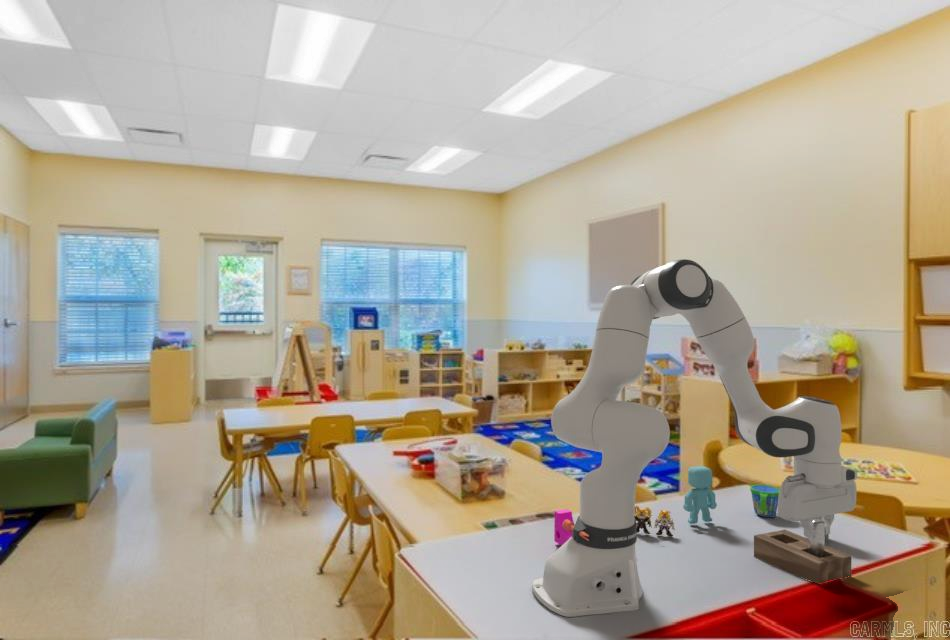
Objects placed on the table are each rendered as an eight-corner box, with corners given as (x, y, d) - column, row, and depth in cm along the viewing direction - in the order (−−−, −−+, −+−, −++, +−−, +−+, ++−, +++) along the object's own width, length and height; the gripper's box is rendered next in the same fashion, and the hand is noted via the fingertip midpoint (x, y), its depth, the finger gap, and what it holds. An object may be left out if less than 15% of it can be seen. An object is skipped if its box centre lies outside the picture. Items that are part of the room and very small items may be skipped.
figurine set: (609, 526, 149) (609, 501, 149) (674, 532, 145) (674, 507, 145) (609, 530, 146) (609, 505, 146) (675, 537, 141) (675, 511, 141)
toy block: (612, 560, 128) (612, 528, 128) (589, 565, 125) (589, 532, 125) (575, 537, 141) (575, 507, 141) (554, 540, 139) (554, 511, 139)
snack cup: (776, 523, 151) (776, 496, 151) (745, 516, 156) (745, 490, 156) (784, 511, 160) (784, 486, 160) (755, 506, 165) (755, 481, 165)
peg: (818, 566, 119) (818, 524, 118) (805, 560, 121) (805, 519, 121) (827, 564, 120) (828, 522, 120) (814, 558, 122) (814, 517, 122)
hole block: (818, 587, 115) (818, 563, 115) (753, 556, 129) (753, 535, 129) (851, 579, 118) (851, 556, 118) (784, 550, 133) (784, 529, 133)
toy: (708, 517, 155) (708, 463, 155) (721, 523, 151) (721, 468, 151) (679, 520, 153) (679, 466, 153) (690, 527, 148) (691, 471, 148)
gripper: (796, 481, 114) (796, 548, 114) (862, 470, 121) (862, 533, 121) (769, 473, 119) (769, 537, 119) (834, 463, 127) (834, 524, 127)
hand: (816, 535), depth 120 cm, fingers closed on peg, 3 cm apart
